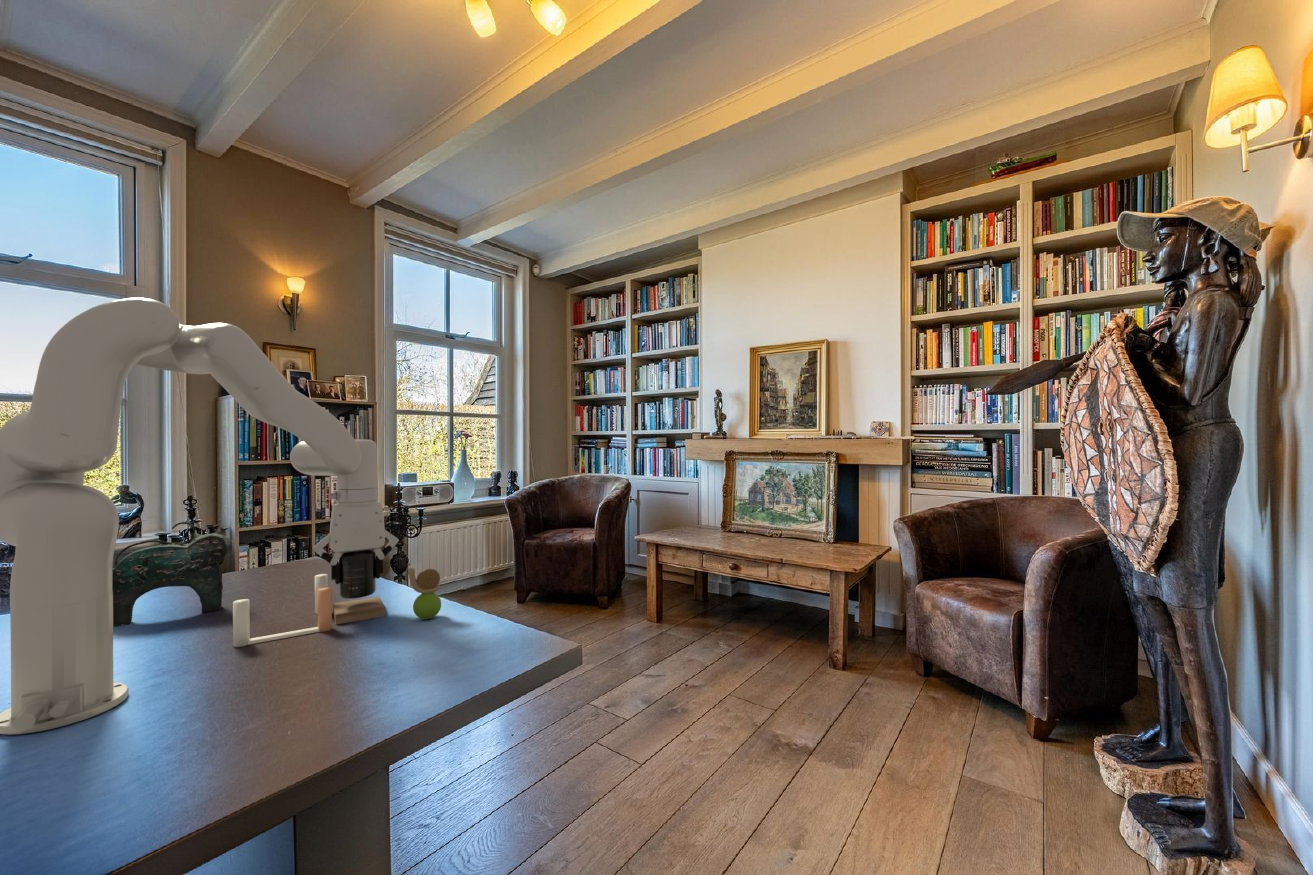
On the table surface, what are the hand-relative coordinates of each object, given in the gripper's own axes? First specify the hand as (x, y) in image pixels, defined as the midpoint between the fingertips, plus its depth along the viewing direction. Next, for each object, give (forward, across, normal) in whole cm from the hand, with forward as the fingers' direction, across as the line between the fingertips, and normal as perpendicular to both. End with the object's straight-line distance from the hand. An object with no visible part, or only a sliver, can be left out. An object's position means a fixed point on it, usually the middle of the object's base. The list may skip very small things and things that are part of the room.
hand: (357, 579), depth 114 cm
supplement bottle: (+3, 0, 0) cm, 3 cm away
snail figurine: (+8, +11, -11) cm, 18 cm away
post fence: (+8, -13, 0) cm, 15 cm away
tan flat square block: (+8, 0, 0) cm, 8 cm away
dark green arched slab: (+8, -33, +23) cm, 41 cm away
